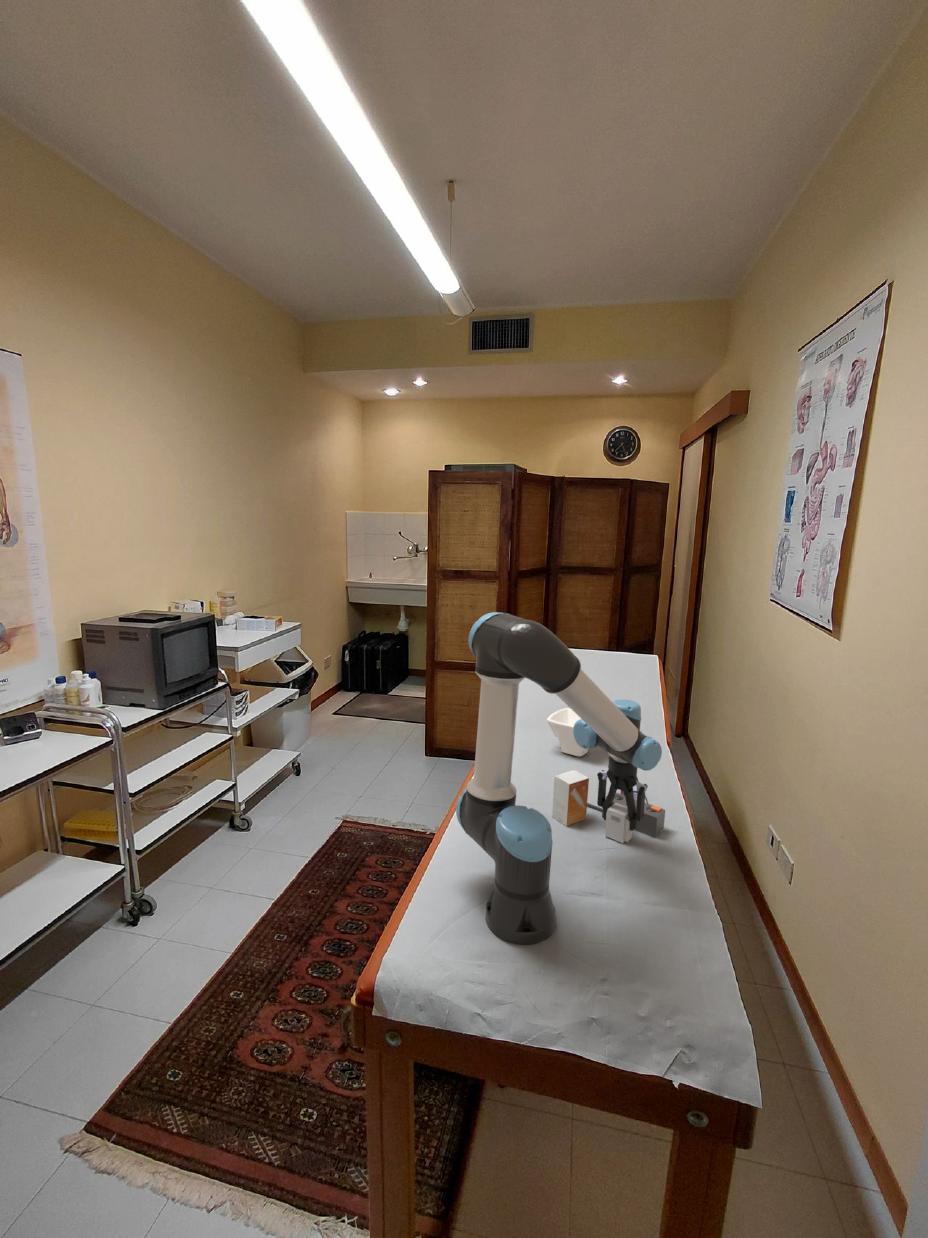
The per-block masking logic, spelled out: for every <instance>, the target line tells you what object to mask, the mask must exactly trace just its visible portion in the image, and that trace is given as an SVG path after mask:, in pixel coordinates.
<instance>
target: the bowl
mask: <svg viewBox="0 0 928 1238" xmlns="http://www.w3.org/2000/svg"><path fill="white" fill-rule="evenodd" d="M580 719H581V718H580V717H579V716H578V715H577V714H576V713H575V712H574V711H573V710H572V709H571V708H570V707H565V708H561V709H558V710H556V711H554V712H553V713H551V714H550V715H548V717H547V718H546V722H547V724H548V725H549V727H550V729H551V731H552V733H553V735H554V737H556V738H558V742H559V746H560V750H561V752H562V753H565V754H567V755H572V756H574V757H582V756H584V755H585V754H587V753H588V752H589V749H590V748H587V749H585V748H582V747H580V746H579V745H578V744H577V742H576V741H575V738H574V734H573V728H574V724H575V723H576V722H577V721H578V720H580Z"/></svg>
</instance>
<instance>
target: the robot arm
mask: <svg viewBox="0 0 928 1238" xmlns="http://www.w3.org/2000/svg"><path fill="white" fill-rule="evenodd" d="M468 647H469V649H470V652H471V653H472V654H473V656H474V657H476V658H475V669H474V671H475V674H476V675H477V676H478V677H479V679H480V693H479V705H478V717H477V719H478V720H477V733H476V745H475V755H474V756H475V758H474V759H475V760H474V771H473V772H474V773H473V778H472V779H470V780H469V781H468V782H467V783H466V787H465V788H464V790H463V791H462V794H461V795H459V797H458V800H457V802H456V808H455V809H456V814H455V815H456V819H457V822H458V823H459V825H460V827H461V828H462V829H463V831H464V832H465V834H467V835H468V836H469V838H471V839H472V840H473V841H474V842H475V843H476V844H477V845H478V846H479V848H480V847H481V849H482V850H483V851H484V852H485V853H487V855H488V856H489V857H490V858H491V859H492V861H494V867H495V868H494V884H493V886H492V888H491V891H490V892H489V896H488V898H487V900H486V905H485V922H486V925H487V927H488V928H489V929H490V931H491V932H492V933H493V934H494V935H495V936H497V937H499V938H501V939H502V940H504V941H506V942H508V943H513V944H518V945H531V944H532V945H533V944H538V943H540V942H543V941H544V940H546V939H547V938H549V937H550V936H551V935H552V934H553V932H554V931H555V929H556V919H557V913H556V908H555V905H554V902H553V897H552V894H551V891H550V879H551V865H552V864H551V863H552V851H553V833H552V832H553V831H552V827H551V823H550V822H549V820H548V818H547V817H546V816H545V815H544V814H543V813H541V812H540V811H539V810H537V809H536V808H532V807H529V808H528V807H527V806H524V805H516V803H517V802H516V801H517V800H516V799H517V787H516V786H515V784H513V783H512V774H513V773H512V771H513V761H514V760H513V759H514V747H515V746H514V745H515V734H516V725H517V723H516V722H517V713H518V701H519V689H520V683H522V681H524V679H527V680H529V681H531V682H533V683H535V684H537V685H538V686H540V688H542V690H543V691H545V692H546V693H548V694H551V695H556V696H557V697H558V698H559V699H560V700H561V701H562V702H563V703H564V704H565V705H567V706H568V708H571V709H572V710H573V711H574V712H575V713H576V714H577V715H578V716H579V717H580V718H581V719H580V720H578V721H577V722H576V723H575V724H574V728H573V734H574V738H575V741H576V742H577V744H578V745H579V746H580V747H582V748H585V749H587V748H589V749H594V748H599V749H600V750H602V751H604V752H606V753H608V755H609V756H608V765H607V768H608V769H607V770H606V771H605V770H603V769H601V771H599V772H598V773H597V774H596V775H597V779H598V788H597V800H596V801H597V802H596V803H597V805H596V806H597V807H600V808H602V809H604V814H603V817H602V818H603V821H605V824H606V823H607V810H608V808H610V807H611V806H612V802H613V799H614V797H615V794H616V793H617V791H618V790H619V791H620V792H621V791H623V793H624V796H625V798H626V803H627V809H628V814H629V817H628V818H627V819H626V833H625V841H624V842H626V843H628V842H629V841H630V840H631V839H632V837H633V831H635V830H634V829H635V828H636V820H637V821H640V820H641V819H642V818H643V817H644V804H645V796H646V792H647V789H648V787H649V786H648V784H646V783H641V782H640V781H639V778H638V769H641V770H642V771H652V770H653V769H654V768H655V767H657V765H658V764H659V762H660V761H661V759H662V758H661V757H662V754H663V749H662V745H661V744H660V743H659V742H658V741H657V740H656V739H654V738H652V737H651V736H648V735H645V734H644V733H643V732H642V731H641V721H642V711H641V710H642V707H641V705H640V704H639V703H638V702H637V701H634V700H630V699H626V698H625V699H621V698H620V699H616V700H614V701H612V700H611V699H610V698H609V697H608V696H607V695H606V694H605V693H604V692H603V691H602V689H600V687H599V686H598V685H597V684H596V683H595V682H594V681H593V680H592V679H591V678H590V676H588V675H587V674H586V673H585V671H584V670H582V663H581V660H580V659H579V658H578V657H577V656H576V655H575V653H574V652H572V650H571V649H570V648H569V647H568V646H567V645H566V644H565V643H564V642H563V641H562V640H561V639H560V638H559V637H558V636H557V635H556V634H554V633H553V632H552V631H551V630H550V629H548V628H547V627H546V626H544V625H543V624H541V623H540V622H537V621H535V620H531V619H526V618H523V617H519V616H516V615H514V614H510V613H506V612H497V611H496V612H495V611H494V612H489V613H486V614H484V615H482V616H480V617H479V619H478V620H476V621H475V622H474V623H473V625H472V627H471V629H470V631H469V634H468ZM607 779H608V780H609V781H610V786H609V788H608V789H609V791H608V793H607V783H608V782H607V781H608V780H607ZM634 787H636V791H638V793H637V806H635V801H634V796H633V791H634ZM606 793H607V794H606ZM606 796H607V798H606V801H605V797H606ZM604 832H605V834H606V830H605V831H604Z"/></svg>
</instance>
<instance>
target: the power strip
mask: <svg viewBox="0 0 928 1238" xmlns="http://www.w3.org/2000/svg"><path fill="white" fill-rule="evenodd" d="M606 798H607V795H606V797H605V801H606ZM634 801H635V806H637V800H636V799H634ZM614 803H618V804H621V805H624V806H626V807H627V803H626V798H625V796H624V795H622V794H621V793H619V792H616V794H615V797H614V799H613V802H612V805H613V804H614ZM587 808H590V809H592V810H595V811H597V812H600V813H601V814H602V815H601V817H602V818H603V814H604V809H603V808H602V807H601V806H598V805H594V804H592V803H589V802H587ZM665 816H666V809H665V808H663V807H661V806H658V805H654V804H650V803H649V802H648V803H645V804H644V817H643V818H642V819H641V820H640V821H637V820H636V828H635V829H634V830H633V831H636V832H639V833H641V834H644V835H646V836H649V837H651V838H654V839H656V838H657V837H658V836H659V835H660V833H662V832H663V831H664V829H665V818H666V817H665Z"/></svg>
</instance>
